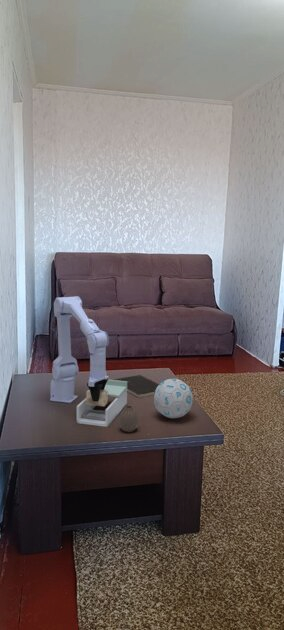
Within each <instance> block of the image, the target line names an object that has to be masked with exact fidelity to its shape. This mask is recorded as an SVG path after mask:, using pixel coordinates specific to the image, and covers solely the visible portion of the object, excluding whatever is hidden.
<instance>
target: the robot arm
mask: <svg viewBox="0 0 284 630" xmlns="http://www.w3.org/2000/svg"><path fill="white" fill-rule="evenodd" d="M53 313H54V317H55V318H56V320H57V321H56V322H57V341H58V344H57V345H58V356H57V357H56V359H54V360H53V361H52V368H51V375H52V376H53V378H52V379H51V381H50V384H49V385H50V386H49V387H50V395H49V396H50V398H49V401H50V402H51V401H52V402H59V403H66V404H71V403H72V402H74V401H75V400H76V399H77V398H78V395H75V379H76V378H77V376H78V374H79V372H80V371H79V366H78V360H77V359H76V358H75V357H74V356H72V342H71V341H72V340H71V320H70V319H71V318H72V317H74V318H75V319H76V320H77V321H78V323H79V324H80V325H79V329H80V330H81V331H82V333H83V335H84V336H85V337H86V343H87V346H88V353H89V379H88V382H87V383H86V386H87V388H88V390H90V393H91V397H92V400H93V401H95V402H98V401H99V396H100V390H101V389H102V390H104V389H105V385H106V383H107V381H108V379H109V375H107V370H106V366H107V365H106V363H107V362H106V355H107V354H106V353H107V352H106V351H107V350H106V348H107V347H108V346H109V344H110V337H109V335H108V332H106V331H103V330H101V329H100V328H99V327H98V325H97V324H96V322H95V321H94V320H93V319H91V318H89V317H88V316H87V314H86V313H85V310H84V309H83V300H82V299H81V297H80V296H78V295H75V296H67V297H66V296H64V297H61V296H60V297H58V296H57V297H55V299H54V302H53Z"/></svg>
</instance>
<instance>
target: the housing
mask: <svg viewBox="0 0 284 630" xmlns="http://www.w3.org/2000/svg"><path fill="white" fill-rule="evenodd" d="M127 404H128V391H127V389H126V390H125V391H124V392H123V393H122V394H121V396H120V397H115V399H114V400H113V401H112V402H111V403H110V404H109V405H108V406H107V408H105V410H101V409H100V410H99V409H94V408H95V407H96V405H88V404H86V397H85V398H84V399H82V401H80V403H79V404H77V405H76V424H79V425H80V424H81V425H89V426H97V427H103V428H104V427H105V428H109V426H110V425H111V423H112V422H113V421H114V420H115V418H116V417H117V416H118V415H119V414H120V412H122V411H123V410H124V409H123V408H125V407H126V406H127Z"/></svg>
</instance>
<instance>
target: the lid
mask: <svg viewBox="0 0 284 630" xmlns="http://www.w3.org/2000/svg"><path fill="white" fill-rule="evenodd" d="M126 389H127V381H118V380H113V379H109V378H108V381H107V383H106V385H105V389H104V390H108V397H110V398H111V397H112V398H117V397H120V396H121V394H122V393H123V392H124V391H125V390H126Z"/></svg>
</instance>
